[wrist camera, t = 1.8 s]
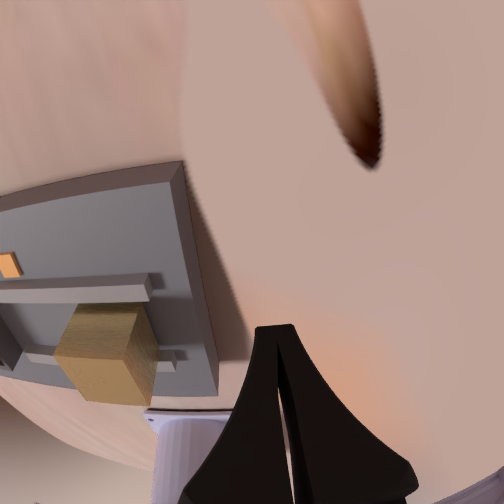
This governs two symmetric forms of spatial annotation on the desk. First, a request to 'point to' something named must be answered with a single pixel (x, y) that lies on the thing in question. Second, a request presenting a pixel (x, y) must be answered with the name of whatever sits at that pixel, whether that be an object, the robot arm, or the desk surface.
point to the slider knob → (110, 353)
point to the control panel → (105, 272)
